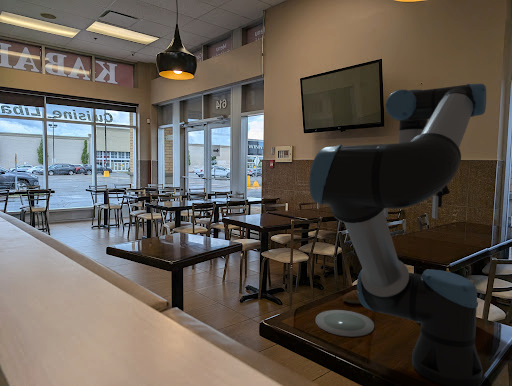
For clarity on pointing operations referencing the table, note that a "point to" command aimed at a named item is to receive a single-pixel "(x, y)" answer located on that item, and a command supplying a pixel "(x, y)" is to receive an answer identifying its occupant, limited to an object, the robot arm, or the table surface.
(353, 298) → the pastry
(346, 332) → the serving plate
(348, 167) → the robot arm
